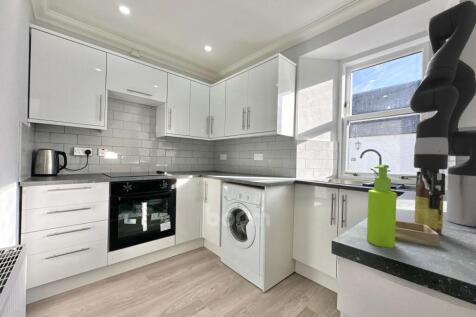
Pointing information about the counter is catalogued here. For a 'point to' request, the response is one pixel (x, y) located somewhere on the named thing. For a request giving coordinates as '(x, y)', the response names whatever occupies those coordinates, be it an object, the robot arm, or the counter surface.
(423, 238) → the wooden stand
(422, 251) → the counter surface
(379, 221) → the soap dispenser
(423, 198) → the sauce bottle
